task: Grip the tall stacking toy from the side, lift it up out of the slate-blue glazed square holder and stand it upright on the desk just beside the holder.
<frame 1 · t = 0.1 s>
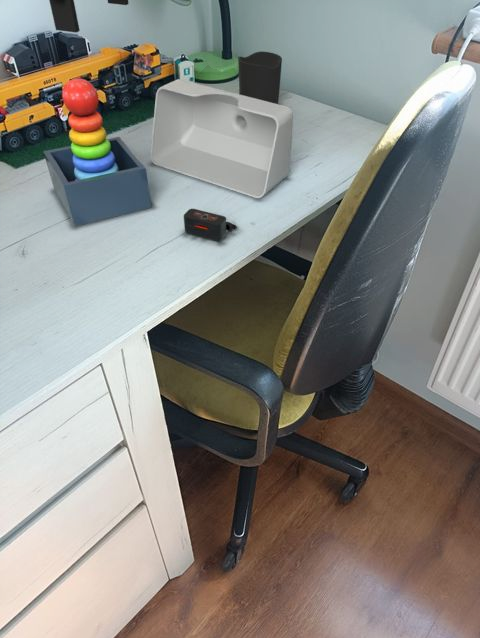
hand: (94, 16, 66), 27 cm above the table, tool pointing down, fingers open, 13 cm apart
stacking toy: (102, 200, 87), resting in square holder
square holder: (102, 199, 87), on the table
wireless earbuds: (212, 234, 81), on the table
light grey open box: (228, 164, 97), on the table
pen holder: (259, 107, 117), on the table
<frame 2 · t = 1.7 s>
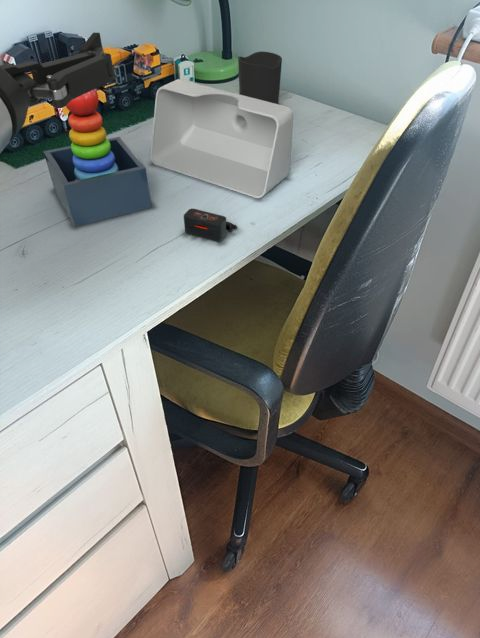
hand: (42, 43, 62), 26 cm above the table, tool horizontal, fingers open, 13 cm apart
nothing on the table moved.
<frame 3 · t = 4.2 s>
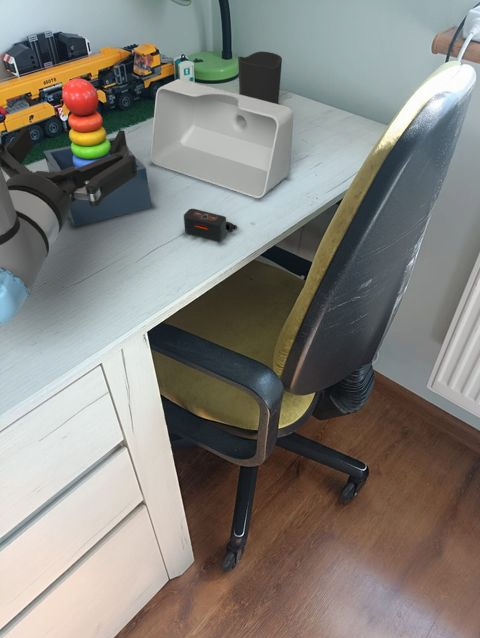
hand: (75, 138, 74), 13 cm above the table, tool horizontal, fingers open, 13 cm apart
nothing on the table moved.
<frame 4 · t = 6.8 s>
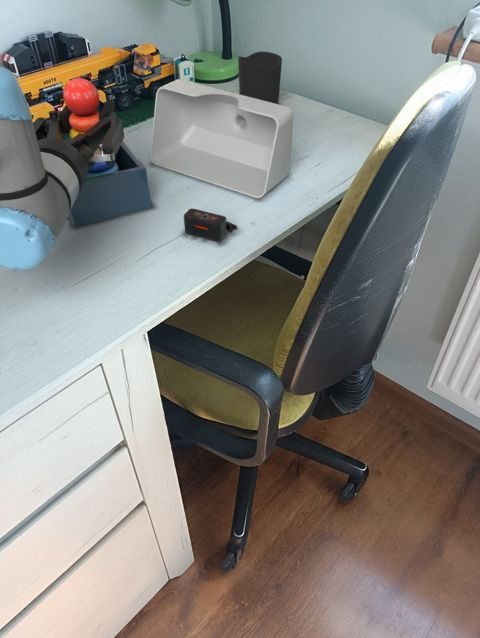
hand: (93, 107, 81), 13 cm above the table, tool horizontal, fingers closed on stacking toy, 5 cm apart
stacking toy: (102, 199, 87), resting in square holder, touching gripper
everything else where it was.
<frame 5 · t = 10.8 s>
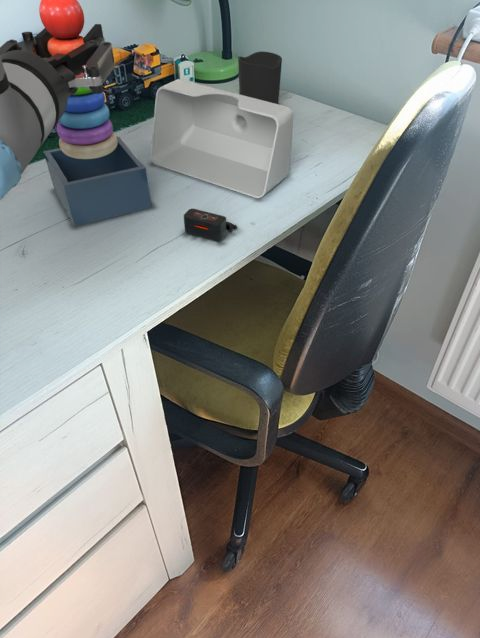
hand: (78, 35, 68), 25 cm above the table, tool horizontal, fingers closed on stacking toy, 5 cm apart
stacking toy: (90, 150, 73), point 12 cm above the table, touching gripper
everything else where it was.
when the fingers open (13 cm above the table, at t = 15.1 s): stacking toy stays where it is, on the table.
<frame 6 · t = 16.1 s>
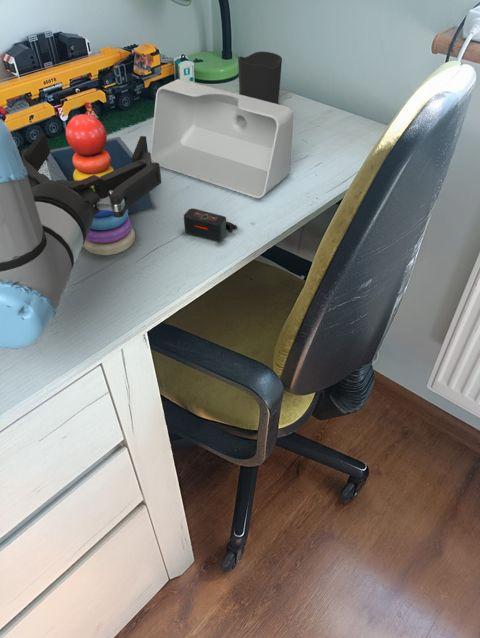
hand: (94, 144, 71), 14 cm above the table, tool horizontal, fingers open, 13 cm apart
stacking toy: (109, 243, 78), on the table
everything else where it was.
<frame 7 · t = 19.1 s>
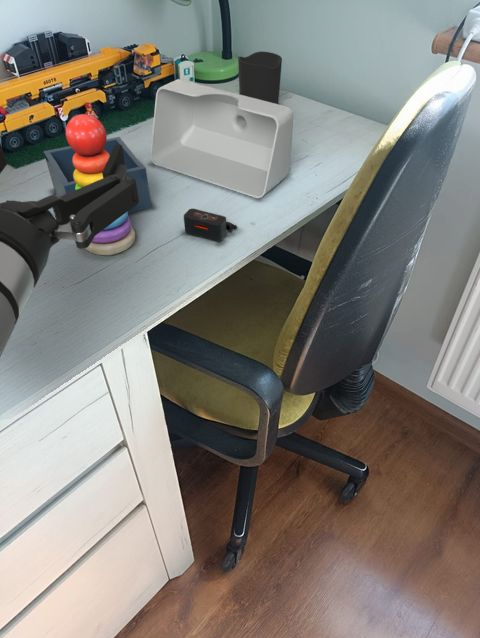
hand: (60, 154, 58), 18 cm above the table, tool horizontal, fingers open, 13 cm apart
nothing on the table moved.
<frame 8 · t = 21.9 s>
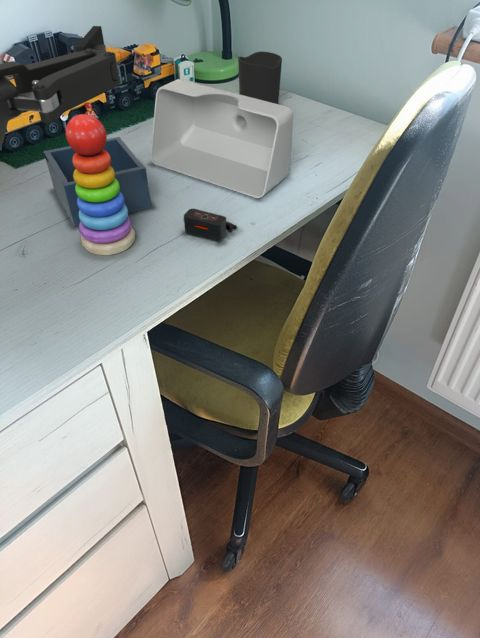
hand: (30, 39, 50), 30 cm above the table, tool horizontal, fingers open, 13 cm apart
nothing on the table moved.
at the end: stacking toy inside the target area (0.2 cm from its centre), on the table; stacking toy tilted 0°; the gripper is holding nothing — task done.
